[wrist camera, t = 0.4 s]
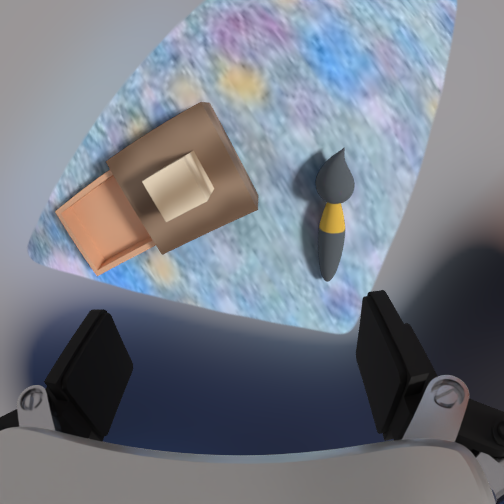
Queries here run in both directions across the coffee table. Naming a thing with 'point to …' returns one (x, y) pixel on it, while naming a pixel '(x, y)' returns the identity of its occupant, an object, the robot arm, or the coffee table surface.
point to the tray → (104, 224)
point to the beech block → (179, 186)
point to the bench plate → (213, 162)
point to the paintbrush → (333, 211)
